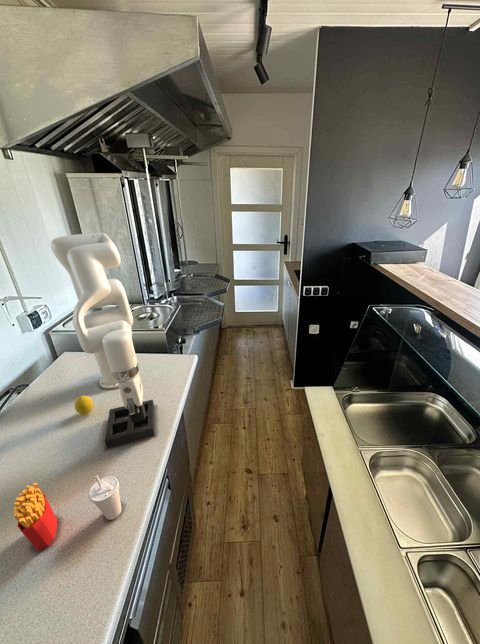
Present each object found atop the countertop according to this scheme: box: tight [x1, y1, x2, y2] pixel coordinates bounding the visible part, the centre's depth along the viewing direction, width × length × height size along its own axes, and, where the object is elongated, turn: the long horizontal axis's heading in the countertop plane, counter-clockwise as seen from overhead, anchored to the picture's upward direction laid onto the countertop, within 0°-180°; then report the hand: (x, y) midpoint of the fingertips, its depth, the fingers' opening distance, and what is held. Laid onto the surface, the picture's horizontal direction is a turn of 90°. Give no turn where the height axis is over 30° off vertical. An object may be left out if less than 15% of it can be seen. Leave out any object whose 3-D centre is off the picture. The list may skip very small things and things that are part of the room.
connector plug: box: [128, 401, 146, 423], centre depth 92 cm, size 4×4×6 cm
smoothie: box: [88, 474, 122, 521], centre depth 70 cm, size 6×6×14 cm
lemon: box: [74, 395, 94, 416], centre depth 102 cm, size 6×6×8 cm
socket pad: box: [103, 399, 156, 449], centre depth 98 cm, size 14×14×4 cm
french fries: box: [13, 482, 58, 551], centre depth 66 cm, size 9×4×13 cm, turn 25°
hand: (138, 415), depth 93 cm, fingers closed on connector plug, 4 cm apart
